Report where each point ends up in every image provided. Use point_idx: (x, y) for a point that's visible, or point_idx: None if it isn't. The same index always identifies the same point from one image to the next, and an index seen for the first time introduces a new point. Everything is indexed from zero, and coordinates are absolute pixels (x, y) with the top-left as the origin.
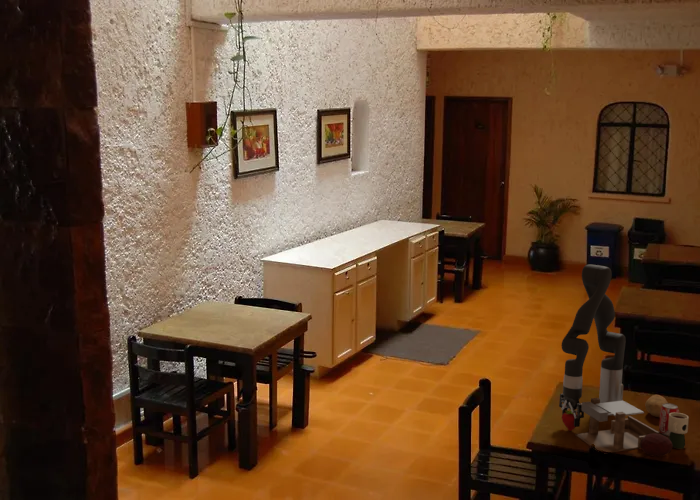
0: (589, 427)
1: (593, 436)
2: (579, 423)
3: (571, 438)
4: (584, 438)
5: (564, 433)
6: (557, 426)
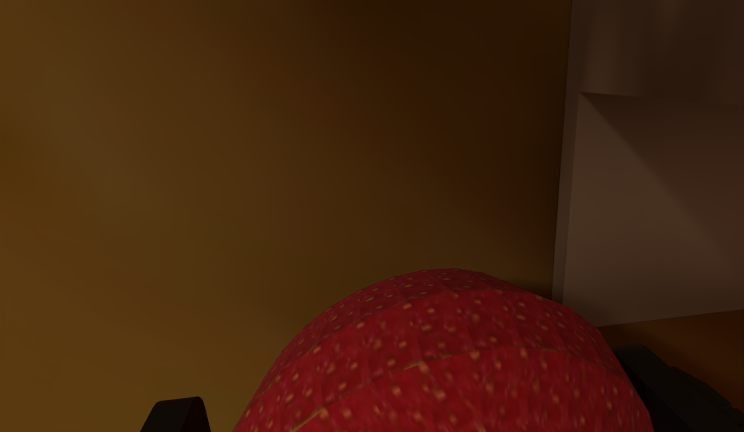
0: (652, 96)
1: (735, 106)
2: (731, 413)
3: None
4: (724, 275)
5: None
6: None
